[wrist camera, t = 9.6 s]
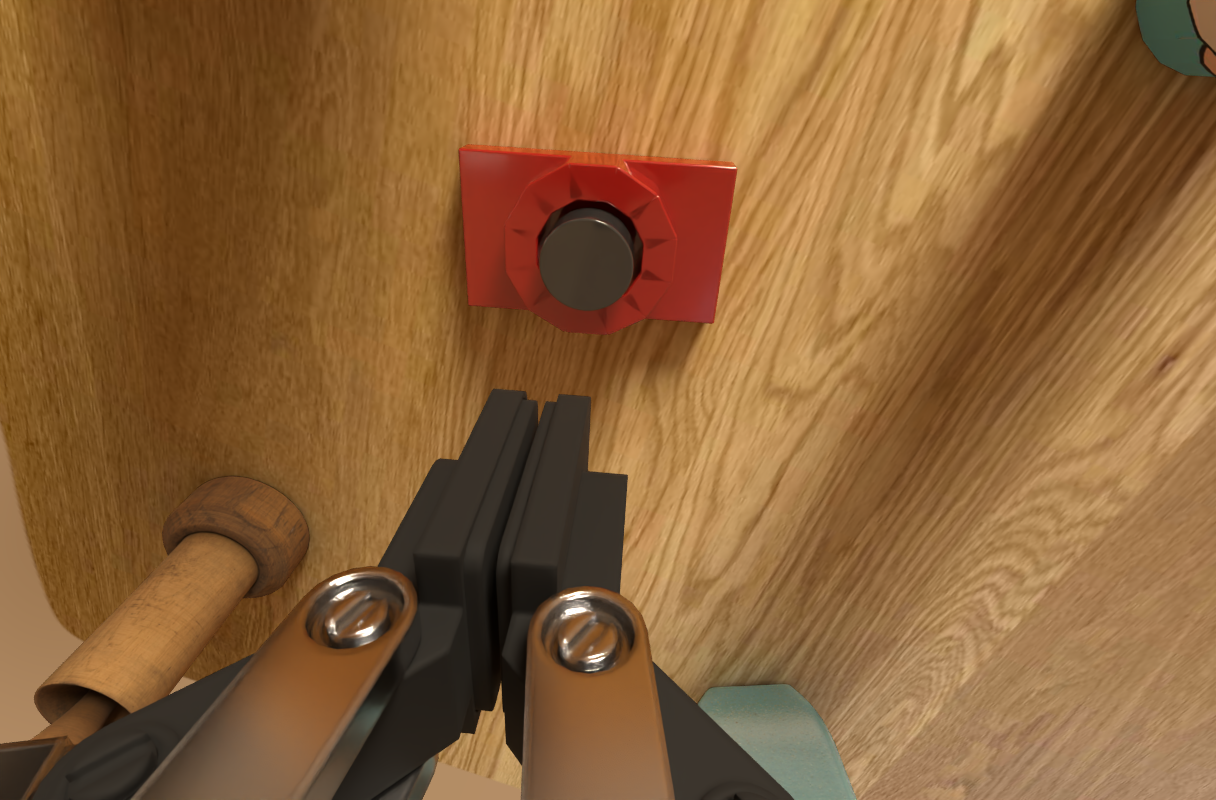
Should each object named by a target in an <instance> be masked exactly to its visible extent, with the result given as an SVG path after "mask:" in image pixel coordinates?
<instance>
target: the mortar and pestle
mask: <svg viewBox="0 0 1216 800" xmlns="http://www.w3.org/2000/svg"><path fill="white" fill-rule="evenodd" d="M162 537H163V543H164V547H165V549H166V552H167V554H168V556H167V557H166V558H165V559H164V560H163V561H162V563H161V564H160V565H159V566H158V567H157V568H156V569H155V570H154V571H153V572H152V573H151V574H150V575H149V576H148V577H147V578H146V579H145V580H144V581H143V582H142V583H141V584H140V585H139V586H138V587H137V588H136V589H135V590H134V591H133V592H132V593H131V595H130V596H129V597H128V598H127V599H126V600H125V601H124V602H123V603H122V604H121V605H120V606H119V607H118V608H117V609H116V610H115V611H114V612H113V613H112V614H111V615H110V616H109V617H108V618H107V619H106V620H105V621H104V622H103V623H102V624H101V625H100V626H99V627H98V628H97V629H96V630H95V631H94V632H93V633H92V634H91V635H90V636H89V637H88V638H87V639H86V640H85V641H84V642H83V643H82V644H81V645H80V646H79V647H78V648H77V649H76V650H75V652H74V653H73V654H71V656H70V657H69V658H68V659H67V660H66V661H65V662H64V663H63V664H62V665H61V666H60V667H59V668H58V669H57V670H56V671H55V672H54V673H53V674H52V675H51V676H50V677H49V678H48V679H47V680H46V681H45V682H44V683H43V684H42V685H41V686H40V687H39V688H38V689H37V691H36V692H35V695H34V702H35V705H36V707H37V709H38V710H39V712H40V713H41V715H42V716H43V717H44V718H45V719H46V720H47V721H48V722H49V723H50V724H51V725H50V726H48V727H47V728H46V729H44V730H43V731H42V732H40V733H39V734H38V735H36V736H35V737H34V738H32V739H31V740H37V739H45V738H53V737H62V736H68V737H69V738H70V740H71V741H72V743H73V745H74V744H79V743H80V742H81V741H82V740H84V739H85V738H87V737H89V736H90V735H92V734H94V733H95V732H97V731H99V730H100V729H102V728H104V727H105V726H107V725H109V724H111V723H113V722H115V721H117V720H119V719H121V718H123V717H125V716H127V715H129V714H131V713H133V712H135V711H137V710H139V709H141V708H144V707H146V706H148V705H150V704H152V703H154V702H156V701H158V700H160V699H162V698H164V697H166V696H168V695H169V694H170V692H171V691H172V690H173V689H174V687H175V686H176V685H177V683H178V682H179V681H180V679H181V678H182V677H183V675H184V674H185V673H186V671H187V670H188V669H189V667H190V666H191V665H192V663H193V662H194V661H195V659H196V658H197V657H198V655H199V654H200V653H201V651H202V650H203V649H204V647H205V646H206V645H207V644H208V642H209V641H210V640H211V638H212V637H213V636H214V634H215V633H216V632H217V630H218V629H219V628H220V627H221V625H222V624H223V623H224V621H225V620H226V619H227V617H228V616H229V615H230V614H231V612H232V611H233V610H234V608H235V607H236V606H237V605H238V603H239V602H240V601H241V599H243V598H256V597H262V596H265V595H268V594H271V593H273V592H275V591H276V590H278V589H279V588H280V587H281V586H282V585H283V584H284V583H285V582H286V581H287V579H288V578H289V576H290V575H291V574H292V572H293V571H294V569H295V568H296V567H297V565H298V564H299V562H300V561H301V560H302V558H303V557H304V555H305V553H306V551H307V549H308V545H309V530H308V526H307V524H306V521H305V519H304V517H303V515H302V514H301V512H300V511H299V510H298V508H297V507H296V506H295V505H294V504H293V503H292V502H291V501H290V500H289V499H288V498H286V497H285V496H284V495H283V494H281V493H280V492H278V491H277V490H275V489H273V488H271V487H270V486H268V485H266V484H264V483H261V482H259V481H256V480H253V479H249V478H245V477H236V476H229V477H220V478H216V479H213V480H210V481H208V482H206V483H204V484H202V485H201V486H199V487H198V488H197V489H196V490H195V491H194V492H192V493H191V494H190V495H189V497H188V498H187V499H186V500H185V501H184V502H182V503H181V504H180V505H179V506H178V507H177V508H176V509H175V510H174V511H173V512H172V513H171V514H170V515H169V517H168V518H167V519H166V521H165V523H164V526H163V532H162Z"/></svg>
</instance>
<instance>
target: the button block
mask: <svg viewBox="0 0 1216 800" xmlns="http://www.w3.org/2000/svg"><path fill="white" fill-rule="evenodd" d="M458 151H459V167H460V183H461V199H462V215H463V231H464V247H465V263H466V279H467V295H468V305H470V306H481V307H495V308H508V309H522V310H530V311H531V312H533V313H534V314H536V315H538V316H539V317H541V318H543V319H544V320H546V321H547V322H549V323H551V324H552V325H554V326H556V327H557V328H559V329H560V330H562V331H564V332H565V331H566V332H572V333H585V334H599V335H607V334H608V335H610V334H612V333H614V332H616V331H619V330H621V329H623V328H626V327H628V326H630V325H632V324H635V323H637V322H639V321H641V320H644V319H657V320H670V321H684V322H697V323H711V324H712V323H714V319H715V313H716V306H717V299H718V293H719V286H720V280H721V273H722V267H723V260H724V254H725V247H726V240H727V234H728V227H729V221H730V214H731V208H732V201H733V195H734V188H735V181H736V175H737V167H736V166H735V164H734V163H733V162H723V161H708V160H693V159H678V158H664V157H649V156H634V155H619V154H605V153H590V152H575V151H560V150H546V149H531V148H516V147H501V146H487V145H472V144H467V145H465V146H463V147H461V148H459V150H458ZM583 207H595V208H600V209H604V210H606V211H608V212H610V213H612V214H614V215H615V216H617V217H618V218H619V219H620V220H621V221H622V222H623V223H624V224H625V225H626V227H627V228H628V230H629V232H630V234H631V236H632V239H633V242H634V248H635V258H634V271H633V277H632V280H631V283H630V285H629V287H628V289H627V290H626V292H625V293H624V295H623V296H622V297H621V298H620V299H619V300H618V301H616V302H615V303H613V304H612V305H610V306H608V307H606V308H603V309H599V310H594V311H582V310H577V309H573V308H570V307H568V306H566V305H564V304H562V303H561V302H559V301H558V300H557V299H555V298H554V297H553V296H552V295H551V293H550V292H549V291H548V290H547V288H546V287H545V285H544V283H543V281H542V278H541V275H540V270H539V256H540V251H541V248H542V245H543V243H544V241H545V239H546V238H547V236H548V234H549V232H550V230H551V228H552V227H553V225H554V224H555V223H556V222H557V220H558V219H559V218H561V217H562V216H563V215H564V214H566V213H568V212H570V211H572V210H574V209H578V208H583Z"/></svg>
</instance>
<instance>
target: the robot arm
mask: <svg viewBox="0 0 1216 800" xmlns="http://www.w3.org/2000/svg"><path fill="white" fill-rule="evenodd" d="M590 412H591V397H588V396H576V395H563V394H559V396H558V399H557V402H548V401H546V403H545V406H544V409H543V412H542V415H541V418H540V421H539V424H538V403H537V401H536V400H527V394H526V392H525V391H515V390H503V389H493V390H492V391H491V393H490V395H489V398H488V400H487V402H486V404H485V406H484V408H483V410H482V412H481V414H480V416H479V418H478V420H477V422H476V424H475V426H474V428H473V430H472V432H471V434H470V437H469V439H468V441H467V443H466V445H465V447H464V449H463V451H462V453H461V455H460V457H459V459H458V460H451V459H438V460H436V461H435V463H434V464H433V465H432V467H431V469H430V471H429V473H428V474H427V476H426V478H425V480H424V482H423V484H422V486H421V487H420V489H419V491H418V493H417V495H416V497H415V498H414V500H413V502H412V504H411V506H410V508H409V509H408V511H407V513H406V515H405V517H404V519H403V520H402V522H401V524H400V526H399V528H398V530H397V532H396V533H395V535H394V537H393V539H392V541H391V543H390V544H389V546H388V548H387V550H386V552H385V554H384V555H383V557H382V559H381V561H380V563H379V565H378V567H374V566H368V567H360V568H353V569H349V570H347V571H344V572H341V573H338V574H335V575H333V576H331V577H329V578H328V579H326V580H324V581H322V582H321V583H319V584H317V585H316V586H315V587H314V588H313V589H312V590H311V591H309V592H308V593H307V594H306V595H305V596H304V597H303V598H302V599H301V600H300V602H299V603H298V604H297V605H296V606H295V607H294V609H293V610H292V611H291V612H290V613H289V614H288V616H287V617H286V618H285V619H284V620H283V621H282V623H281V624H280V625H279V626H278V627H277V628H276V630H275V631H274V632H273V633H272V634H271V635H270V637H269V638H268V639H267V640H266V641H265V642H264V644H263V645H262V646H261V647H260V648H259V650H258V651H257V652H256V653H254V654H252V655H250V656H248V657H246V658H244V659H242V660H240V661H238V662H236V663H233V664H231V665H229V666H227V667H225V668H223V669H221V670H219V671H217V672H215V673H213V674H211V675H209V676H207V677H205V678H203V679H201V680H199V681H197V682H195V683H193V684H191V685H189V686H186V687H185V688H183V689H180V690H179V691H176V692H174V693H172V694H170V695H168V696H166V697H164V698H162V699H160V700H158V701H156V702H154V703H152V704H150V705H148V706H146V707H144V708H141V709H139V710H137V711H135V712H133V713H131V714H129V715H127V716H125V717H123V718H121V719H119V720H117V721H115V722H113V723H111V724H109V725H107V726H105V727H104V728H102V729H100V730H99V731H97V732H95V733H94V734H92V735H90V736H89V737H87V738H85V739H84V740H82V741H81V742H80V743H79V744H74V745H73V743H72V741H71V740H70V738H69V737H68V736H62V737H53V738H45V739H37V740H28V741H20V742H12V743H4V744H0V800H422V799H423V797H424V795H425V792H426V790H427V788H428V786H429V784H430V782H431V779H432V777H433V775H434V772H435V769H436V766H437V762H438V759H439V752H441V751H442V750H443V749H445V748H446V747H448V746H449V745H451V744H452V743H454V742H455V741H456V740H458V739H459V737H460V734H461V733H470V734H475V731H476V727H477V723H478V719H479V716H480V712H481V710H484V711H493V709H494V707H495V703H496V700H497V696H498V692H499V688H500V684H502V704H503V712H504V713H505V732H506V744H507V745H508V747H509V748H510V750H511V751H512V752H513V754H514V755H515V757H516V758H517V759H518V761H519V762H520V764H521V765H522V783H521V800H794V798H793V797H792V796H791V795H790V794H789V793H788V792H787V791H786V790H785V789H784V788H783V787H782V786H781V785H780V784H779V783H778V782H777V781H776V780H775V779H774V778H773V777H772V776H771V775H770V774H769V773H768V772H767V771H765V770H764V769H763V768H762V767H761V766H760V765H759V764H758V763H757V762H756V761H755V760H754V759H753V758H752V757H751V756H750V755H749V754H748V753H747V752H746V751H745V750H744V749H743V748H742V747H741V746H740V745H739V744H738V743H737V742H736V741H734V740H733V739H732V738H731V737H730V736H729V735H728V734H727V733H726V732H725V731H724V730H723V729H722V728H721V727H720V726H719V725H718V724H717V723H716V722H715V721H714V720H713V719H712V718H711V717H710V716H709V715H708V714H707V713H706V712H705V711H703V710H702V709H701V708H700V707H699V706H698V705H697V704H696V703H695V702H694V701H693V700H692V699H691V698H690V697H689V696H688V695H687V694H686V693H685V692H684V691H683V690H682V689H681V688H680V687H679V686H678V685H677V684H676V683H675V682H674V681H672V680H671V679H670V678H669V677H668V676H667V675H666V674H665V673H664V672H663V671H662V670H661V669H660V668H659V667H658V666H657V665H656V664H655V663H654V662H653V661H652V656H651V650H650V644H649V637H648V631H647V628H646V625H645V622H644V619H643V617H642V615H641V613H640V612H639V611H638V610H637V608H636V607H635V606H634V605H633V603H632V602H630V601H629V600H627V599H626V598H624V597H623V596H621V595H620V582H621V568H622V553H623V538H624V524H625V509H626V495H627V480H628V475H624V474H612V473H601V472H589V471H588V454H589V433H590Z"/></svg>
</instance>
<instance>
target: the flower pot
mask: <svg viewBox="0 0 1216 800" xmlns="http://www.w3.org/2000/svg"><path fill="white" fill-rule="evenodd" d="M697 705H698V706H699V707H700V708H701V709H702V710H703V711H705V712H706V713H707V714H708V715H709V716H710V717H711V718H712V719H713V720H714V721H715V722H716V723H717V724H718V725H719V726H720V727H721V728H722V729H723V730H724V731H725V732H726V733H727V734H728V735H729V736H730V737H731V738H732V739H733V740H734V741H736V742H737V743H738V744H739V745H740V746H741V747H742V748H743V749H744V750H745V751H746V752H747V753H748V754H749V755H750V756H751V757H752V758H753V759H754V760H755V761H756V762H757V763H758V764H759V765H760V766H761V767H762V768H763V769H764V770H765V771H767V772H768V773H769V774H770V775H771V776H772V777H773V778H774V779H775V780H776V781H777V782H778V783H779V784H780V785H781V786H782V787H783V788H784V789H785V790H786V791H787V792H788V793H789V794H790V795H791V796H792V797H793V798H794V800H857V799H856V796H855V793H854V791H853V788H852V786H851V783H850V781H849V778H848V775H847V773H846V770H845V768H844V765H843V762H842V760H841V757H840V755H839V752H838V750H837V747H836V745H835V742H834V740H833V738H832V736H831V734H830V732H829V730H828V728H827V727H826V725H825V723H824V722H823V720H822V718H821V717H820V716H819V714H818V713H817V712H816V710H815V709H814V708H813V707H812V705H811V704H810V703H809V702H808V701H807V700H806V699H805V698H804V697H803V696H802V695H801V694H800V693H798V692H797V691H796V690H795V689H794V688H792V687H791V686H790V685H787V684H774V685H755V686H731V687H713V688H710V689H708V690H707V691H706V693H705V694H704V695H703V697H702V698H701V700H700V701H699V703H698V704H697Z"/></svg>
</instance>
